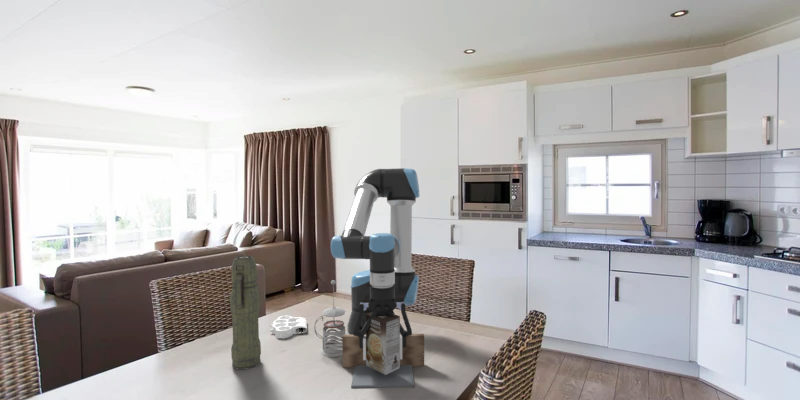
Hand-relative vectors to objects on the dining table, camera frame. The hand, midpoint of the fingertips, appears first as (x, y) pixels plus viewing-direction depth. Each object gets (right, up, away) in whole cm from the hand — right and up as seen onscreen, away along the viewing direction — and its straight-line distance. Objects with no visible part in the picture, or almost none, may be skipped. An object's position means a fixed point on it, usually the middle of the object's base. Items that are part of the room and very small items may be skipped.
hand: (382, 357), depth 121 cm
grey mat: (0, -6, 0) cm, 6 cm away
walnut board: (0, -5, +7) cm, 9 cm away
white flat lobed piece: (-40, -5, +40) cm, 56 cm away
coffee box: (0, -3, 0) cm, 3 cm away
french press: (-19, -5, +19) cm, 27 cm away
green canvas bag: (-45, -6, +10) cm, 46 cm away
